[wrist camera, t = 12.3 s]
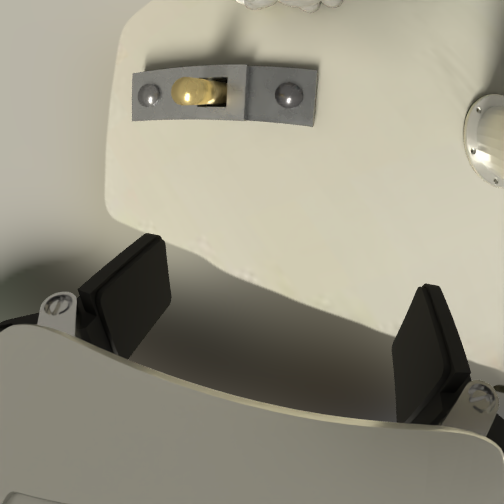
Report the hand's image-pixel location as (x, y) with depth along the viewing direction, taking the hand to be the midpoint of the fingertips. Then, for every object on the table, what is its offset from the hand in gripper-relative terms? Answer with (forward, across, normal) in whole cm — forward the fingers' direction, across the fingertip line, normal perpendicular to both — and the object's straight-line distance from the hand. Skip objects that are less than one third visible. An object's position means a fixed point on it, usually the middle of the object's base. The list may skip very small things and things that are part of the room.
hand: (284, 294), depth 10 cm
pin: (+28, +13, -7) cm, 32 cm away
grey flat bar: (+28, +13, -7) cm, 32 cm away
